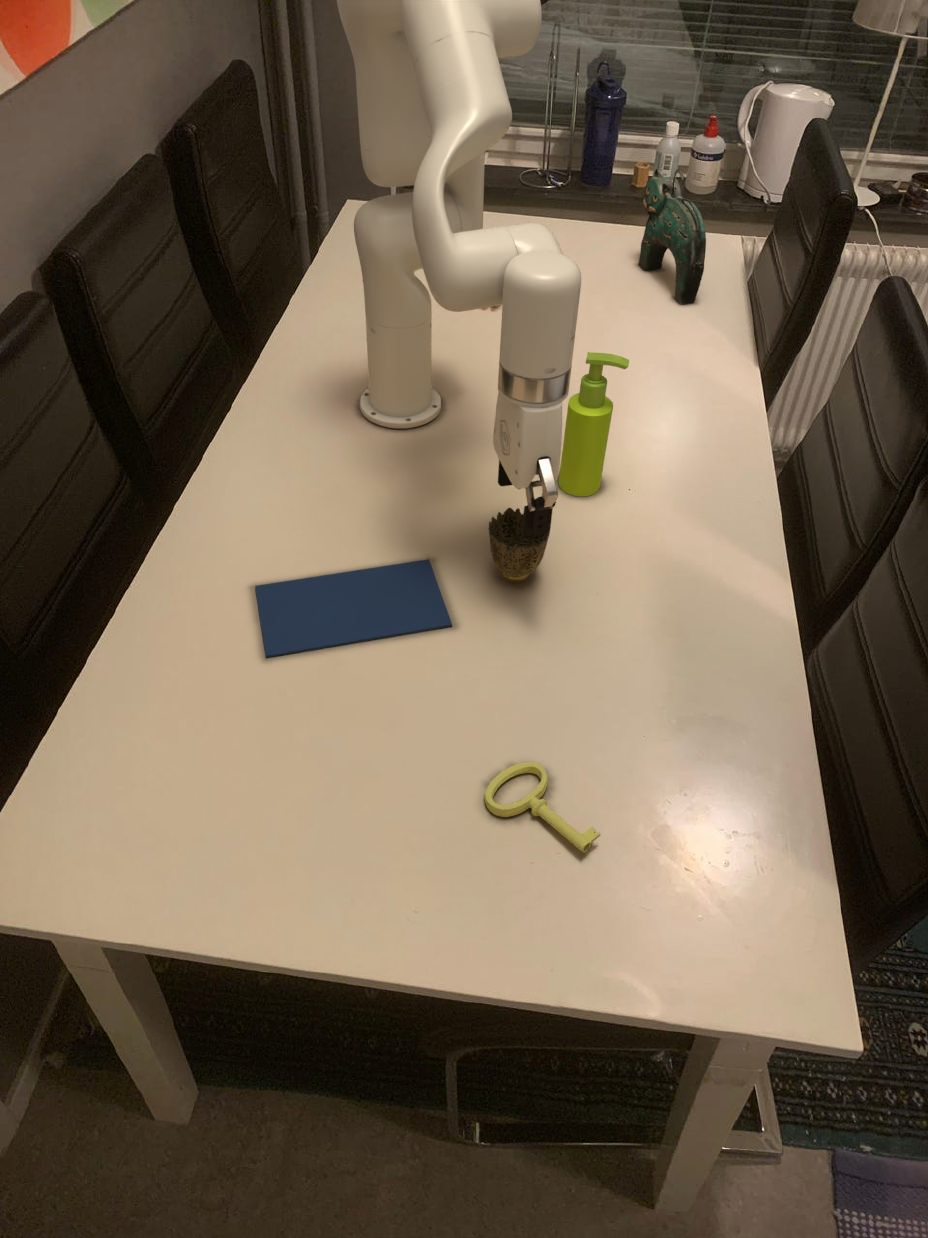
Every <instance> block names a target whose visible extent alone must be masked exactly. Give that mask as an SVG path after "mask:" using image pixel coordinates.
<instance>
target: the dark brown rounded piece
mask: <svg viewBox="0 0 928 1238" xmlns="http://www.w3.org/2000/svg"><path fill="white" fill-rule="evenodd" d="M523 516H524V513H522V512H521V509H520V508H519V507H517V508H516V509H515V510H514V509H513V508H512V507H508V508H506V509H505V510H504V512H503V513H502V512H501V511H498V513H497V514H496V518H495V517H494V516H492V517H491V519H490V521H489V522H488V537H489V548H490V555H491V558H492V559H491V560H492V561H493V563H494V565H495V566H496V567H497V569H498V570H499V571H500V573H501V576H502V578H504V579H505V580H506V581H507V582H510V583H514V584H517V583H522V582H524V581H526V580H527V578H528V577H529V576H530V574H531V573H533V572H534V571H535V570H536V569H537V568H538V567H539V566H540V564H541V562H542V560H543V557H544V555H545V552H546V548H547V545H548V541H549V537H550V533H551V531H550V532H549V533H545V534H539V535H532V536H524V535H523V533H522V527H523Z"/></svg>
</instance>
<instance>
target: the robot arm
mask: <svg viewBox="0 0 928 1238" xmlns="http://www.w3.org/2000/svg"><path fill="white" fill-rule="evenodd" d="M336 5H337V6H336V7H337V10H338V14H339V18H340V21H341V25H342V27H343V31H344V33H345V36H346V40H347V41H348V45H349V48H350V51H351V55H352V59H353V63H354V71H355V72H354V73H355V87H356V88H355V89H356V102H357V104H356V105H357V117H358V133H359V147H360V157H361V158H360V159H361V163H362V164H361V165H362V167H363V171H364V174H365V176H366V178H367V179H368V180H369V182H371V184H374V185H376V186H378V187H383V188H399V187H411V186H413V190H412V191H411V192H401V193H395V194H387V195H383V196H378V197H375V198H372V199H370V200H368V201H366V202H365V203H363V204H362V205H361V206H360V207H359V208H358V209H357V211H356V213H355V215H354V220H353V235H354V240H355V245H356V250H357V255H358V260H359V264H360V271H361V276H362V285H363V286H362V287H363V298H364V314H365V315H364V316H365V330H366V331H365V333H366V353H367V354H366V355H367V369H368V370H367V374H368V375H367V376H368V388H366V389H365V390H364V391H363V393H361V395H360V398H359V410H360V412H361V415H362V416H363V417H364V418H366V419H367V420H368V421H370V422H371V423H373V424H375V425H377V426H381V427H385V428H388V429H389V428H390V429H413V428H416V427H421V426H423V425H426V424H429V422H432V421H433V420H434V419H436V418H437V417H438V416H439V414H440V413H441V410H442V397H441V396H440V393H438V391H437V390H436V389H434V388H433V387H432V347H433V346H432V345H433V344H432V343H433V342H432V338H433V337H432V335H433V334H432V331H433V329H432V328H433V327H432V325H433V316H432V315H433V312H432V311H433V310H432V309H433V308H432V306H433V305H432V299H431V296H432V297H433V299H434V301H435V302H436V303H437V304H438V306H440V307H441V308H443V309H445V310H446V311H449V312H452V313H453V312H455V313H461V312H468V311H474V310H481V309H486V308H492V307H497V306H502V307H501V324H500V327H501V328H500V341H499V342H500V343H499V359H498V360H499V361H498V377H497V378H498V379H497V392H498V393H497V399H496V405H495V406H496V407H495V416H494V426H493V436H492V445H493V448H494V451H495V453H496V456H497V458H498V473H497V483H498V485H499V486H500V487H507V486H508V487H509V486H513V487H514V488H516V489H517V490H522V489H525V497H526V504H527V505H524V506H523V514H524V516H523V527H522V533H523V535H524V536H532V535H539V534H545V533H549V532H550V533H551V528H552V527H551V526H552V518H553V510H554V508H555V507H556V504H557V499H558V497H559V489H558V485H557V483H556V482H557V480H558V477H559V472H560V465H561V455H562V438H563V437H562V435H563V402H564V401H565V400H566V399H567V397H568V396H569V393H570V384H571V375H572V368H573V367H572V365H573V357H574V348H575V341H576V340H575V339H576V333H577V332H576V330H577V323H578V315H579V307H580V298H581V297H580V296H581V288H582V273H581V269H580V267H579V265H578V263H576V261H575V260H574V259H572V258H571V257H569V256H568V255H565V254H564V252H563V250H562V248H561V246H560V243H559V241H558V239H557V238H556V236H555V235H554V233H553V231H552V230H551V229H550V228H549V227H548V226H546V225H544V224H542V223H538V222H524V223H517V224H509V225H503V226H493V227H486V228H484V201H485V199H484V197H485V164H486V162H485V160H486V159H485V157H486V156H485V155H486V154H485V152H486V151H488V150H489V149H491V148H492V147H493V146H494V145H496V144H497V143H498V142H499V141H500V140H502V138H503V137H504V136H505V135H507V132H509V129H510V127H511V125H512V121H513V112H512V111H513V110H512V106H511V103H510V99H509V95H508V92H507V91H508V90H507V88H506V84H505V81H504V77H503V72H502V68H501V65H500V62H499V59H503V58H513V57H514V58H515V57H521V56H523V55H526V54H528V53H529V52H530V51H531V50H533V49H534V47H535V45H536V43H537V42H538V40H539V36H540V34H541V29H542V20H543V19H542V18H543V17H542V16H543V14H542V2H541V0H336ZM419 270H423V274H424V277H425V281H426V283H427V286H428V288H427V286H426V285H425V284H424V283H423V282H422V280H421V279H420V278H418V277H417V276H416V274H415V272H416V271H419ZM428 289H429V290H428ZM430 293H431V295H430ZM535 476H538V478H539V480H534V478H535ZM538 487H541V491H542V492H541V496H538V497H537V498H535V494H534V488H538Z"/></svg>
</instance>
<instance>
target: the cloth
mask: <svg viewBox="0 0 928 1238" xmlns="http://www.w3.org/2000/svg"><path fill="white" fill-rule="evenodd" d="M254 589H255V595H256V603H257V609H258V614H259V621H260V627H261V634H262V635H261V636H262V640H263V641H262V642H263V647H264V654H265V659H268V658H269V659H270V658H275V657H282V656H287V655H292V654H293V655H294V654H299V653H303V652H311V651H316V650H322V649H327V648H335V647H339V646H340V647H341V646H346V645H353V644H357V643H358V644H359V643H363V642H369V641H375V640H376V641H377V640H381V639H386V638H387V639H388V638H393V637H399V636H405V635H411V634H417V633H421V632H429V631H435V630H441V629H445V628H446V629H447V628H452V627H453V623H452V619H451V617H450V614H449V611H448V609H447V605H446V603H445V601H444V598H443V595H442V591H441V589H440V586H439V583H438V581H437V578H436V574H435V573H434V569H433V567H432V563H431V560H430V559H429V558H428V559H427V558H426V559H421V560H415V561H409V562H407V561H406V562H402V563H395V564H389V565H382V566H375V567H369V568H368V567H367V568H362V569H356V570H350V571H341V572H336V573H330V574H324V575H317V576H310V577H304V578H297V579H289V580H285V581H278V582H271V583H264V584H257V585H255V586H254Z"/></svg>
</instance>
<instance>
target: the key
mask: <svg viewBox="0 0 928 1238" xmlns="http://www.w3.org/2000/svg"><path fill="white" fill-rule="evenodd" d="M522 774H533V775H536V776H537V777H538V778H539V780H540V781H539V783H538V784H537V786H536V787H535V788H534V789H533V790H532V791H531V792H530V793H529V794H528V795H526V796H525V797H523V798H522V799H520V800H518V801H516V802H514V803H513V802H512V803H509V804H499V803H497V802H496V801H494V795H495V793H496V792H497V791H498V789H499V788H500V787H501V786H502V785H503V784H504V783H505V782H506V781H508V780H509V779H512V778H513V777H515V776H519V775H522ZM548 783H549V778H548V773H547V771H546V769H545V768H544V767H543V766H542V765H541V764H539V763H537V762H534V761H533V762H531V761H525V762H520V763H517V764H514V765H511V766H509V767H507V768H506V769H504V770H502V771H501V772H500V773H498V774H497V775H496V776H494V778H493V779H492V780H491V781H490V782H489V783H488V786H487V787H486V790H485V791H484V795H483V799H484V803H485V806H486V808H487V810H488V811H489V812H490V813H492V814H493V815H494V816H497V817H502V818H508V817H513V816H516V815H519V814H521V813H524V812H526V811H527V810H529V809H531V811H530V813H531V815H532V816H533V817H540V818H541V819H542V820H544V821H545V822H546V823H547V824H549V825H550V826H551V827H552V828H554V829H555V831H557V832H558V833H559V834H560V835H562V836H563V837H564V838H565V839H566V840H567V841H569V842H570V844H573V846H574V847H576V848H577V849H578V850H580V851H581V852H582V853H586V852H587V851H588V850H589V849H590V848H591V846H592V843H594V842H595V841H596V840H597V839H598V838H600V837H601V833H602V832H600V831H597V832H596V828H595V826H590V827H589V828H588V829H587V830H585V831H584V832H583V833H582V834H581V833H580V832H579V831H578V830H576V829H575V828H574V827H573V826H572V825H570V824H569V823H568V822H567V821H565V819H563V818H562V817H561V816H559V815H558V814H557V813H556V812H555V811H554V810H552V809H551V808H550V807H549V806H548V801H547V799H545V798H542V797H543V795H544V794H545V792H546V789H547V787H548Z"/></svg>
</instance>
